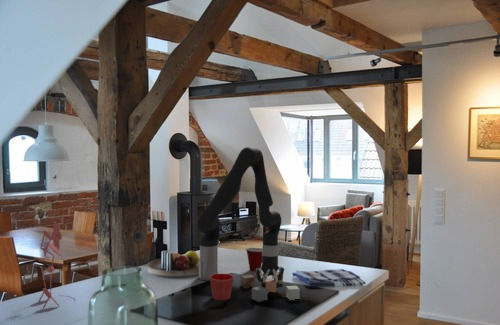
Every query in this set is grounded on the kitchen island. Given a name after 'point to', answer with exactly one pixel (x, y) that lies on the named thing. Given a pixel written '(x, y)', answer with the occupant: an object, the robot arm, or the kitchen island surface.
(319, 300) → the kitchen island surface
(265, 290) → the slate cube
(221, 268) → the kitchen island surface
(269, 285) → the terracotta cube
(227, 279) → the flower pot
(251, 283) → the walnut cube
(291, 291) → the sage cube
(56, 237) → the figurine
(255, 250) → the plastic cup
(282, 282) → the oak cube
